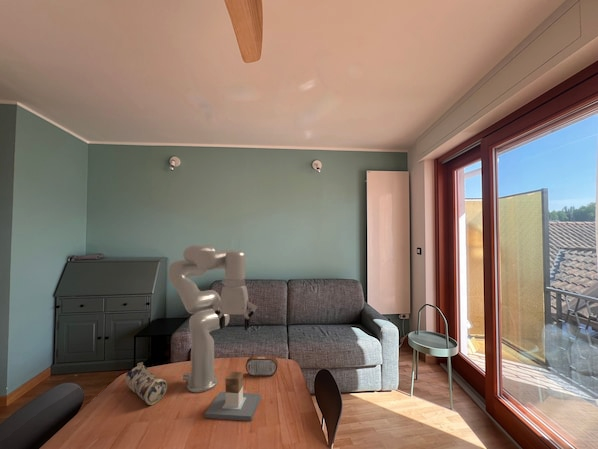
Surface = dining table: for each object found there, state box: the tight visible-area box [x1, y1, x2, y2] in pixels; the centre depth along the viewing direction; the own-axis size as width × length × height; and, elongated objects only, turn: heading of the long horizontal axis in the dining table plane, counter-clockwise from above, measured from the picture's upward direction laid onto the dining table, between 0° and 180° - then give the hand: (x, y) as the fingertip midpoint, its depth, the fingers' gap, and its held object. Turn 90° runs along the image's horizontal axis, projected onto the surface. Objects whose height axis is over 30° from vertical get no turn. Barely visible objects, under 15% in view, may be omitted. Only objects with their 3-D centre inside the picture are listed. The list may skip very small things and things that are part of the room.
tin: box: [245, 355, 279, 377], centre depth 119 cm, size 15×3×8 cm, turn 89°
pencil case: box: [125, 361, 168, 406], centre depth 105 cm, size 22×8×10 cm, turn 53°
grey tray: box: [204, 391, 262, 422], centre depth 96 cm, size 17×13×2 cm
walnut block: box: [225, 371, 244, 393], centre depth 97 cm, size 5×5×5 cm
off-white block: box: [225, 385, 244, 407], centre depth 96 cm, size 5×5×5 cm
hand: (234, 328), depth 98 cm, fingers open, 9 cm apart
